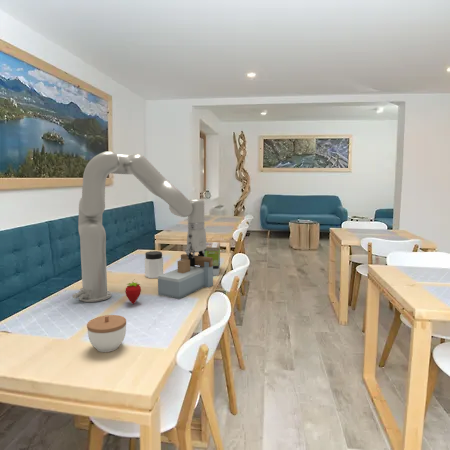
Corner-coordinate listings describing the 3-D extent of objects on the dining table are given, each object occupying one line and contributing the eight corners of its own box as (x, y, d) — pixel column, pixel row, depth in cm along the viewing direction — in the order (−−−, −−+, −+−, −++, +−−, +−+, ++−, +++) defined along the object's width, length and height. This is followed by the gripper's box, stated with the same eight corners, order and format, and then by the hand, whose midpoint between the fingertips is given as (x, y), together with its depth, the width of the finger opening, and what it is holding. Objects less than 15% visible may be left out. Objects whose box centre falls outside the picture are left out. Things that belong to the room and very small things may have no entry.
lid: (178, 282, 144) (178, 267, 144) (158, 278, 149) (158, 264, 149) (207, 270, 163) (207, 256, 163) (188, 267, 168) (188, 254, 168)
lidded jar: (130, 338, 109) (129, 309, 108) (121, 356, 99) (120, 323, 97) (95, 339, 109) (93, 309, 108) (82, 356, 98) (80, 323, 97)
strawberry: (143, 300, 144) (142, 276, 142) (139, 307, 136) (138, 281, 135) (128, 300, 143) (127, 276, 142) (123, 307, 136) (122, 281, 135)
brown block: (210, 267, 160) (210, 258, 159) (180, 263, 168) (180, 254, 167) (212, 266, 162) (212, 257, 161) (183, 262, 170) (183, 253, 169)
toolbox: (183, 300, 144) (183, 272, 143) (154, 294, 151) (153, 267, 150) (213, 285, 164) (212, 260, 163) (185, 280, 171) (185, 257, 170)
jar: (166, 276, 178) (165, 253, 177) (151, 279, 173) (150, 255, 172) (157, 273, 185) (156, 250, 184) (142, 275, 180) (142, 252, 179)
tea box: (219, 275, 180) (219, 246, 179) (199, 275, 181) (199, 246, 179) (220, 268, 195) (220, 241, 193) (201, 268, 196) (201, 241, 194)
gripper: (192, 229, 153) (192, 269, 155) (213, 224, 168) (213, 261, 171) (178, 228, 157) (178, 267, 159) (199, 223, 172) (199, 259, 174)
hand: (196, 264), depth 165 cm, fingers open, 7 cm apart
